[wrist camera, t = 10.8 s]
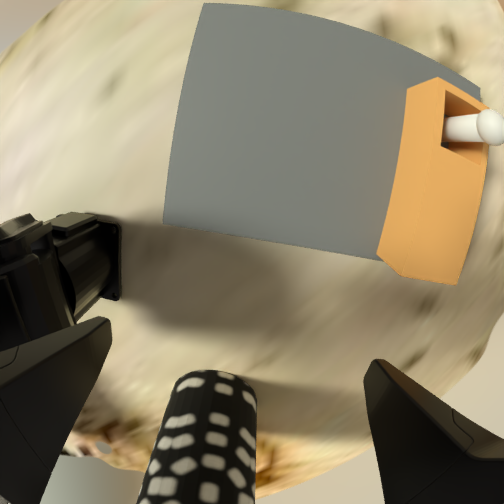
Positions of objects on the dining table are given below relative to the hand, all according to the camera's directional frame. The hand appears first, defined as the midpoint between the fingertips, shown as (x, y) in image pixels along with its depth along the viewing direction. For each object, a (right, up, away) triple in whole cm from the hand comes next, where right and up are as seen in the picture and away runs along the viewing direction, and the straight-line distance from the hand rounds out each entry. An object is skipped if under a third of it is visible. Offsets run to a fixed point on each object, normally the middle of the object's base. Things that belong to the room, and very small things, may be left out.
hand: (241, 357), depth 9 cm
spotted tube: (-3, -11, +16) cm, 20 cm away
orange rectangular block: (+12, +8, +8) cm, 17 cm away
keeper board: (+7, +11, +9) cm, 16 cm away
